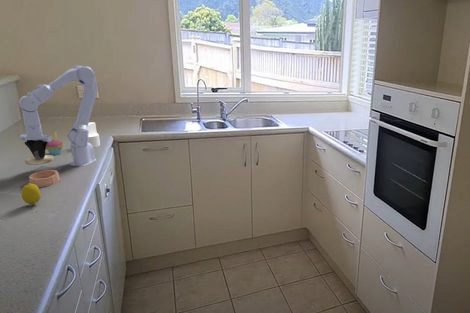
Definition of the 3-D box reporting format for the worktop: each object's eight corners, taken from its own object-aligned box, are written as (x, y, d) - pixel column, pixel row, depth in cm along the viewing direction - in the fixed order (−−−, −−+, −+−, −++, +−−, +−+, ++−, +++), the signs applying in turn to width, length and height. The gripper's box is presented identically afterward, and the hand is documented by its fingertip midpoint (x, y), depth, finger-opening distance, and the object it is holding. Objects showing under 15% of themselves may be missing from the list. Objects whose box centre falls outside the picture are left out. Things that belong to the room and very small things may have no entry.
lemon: (45, 201, 118) (41, 180, 115) (37, 208, 113) (32, 186, 110) (29, 201, 118) (24, 180, 115) (20, 208, 112) (15, 186, 110)
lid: (39, 155, 149) (38, 147, 148) (60, 157, 146) (59, 148, 145) (18, 163, 139) (16, 154, 137) (40, 165, 136) (38, 156, 135)
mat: (42, 166, 151) (41, 165, 151) (63, 169, 148) (63, 168, 148) (20, 176, 140) (20, 175, 140) (43, 178, 137) (42, 177, 137)
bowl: (44, 177, 139) (43, 169, 138) (65, 179, 137) (63, 171, 136) (24, 186, 130) (22, 178, 129) (46, 189, 128) (44, 180, 126)
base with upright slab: (93, 148, 177) (90, 126, 173) (78, 147, 179) (75, 125, 175) (103, 143, 186) (100, 122, 182) (88, 143, 187) (85, 122, 183)
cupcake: (61, 150, 174) (57, 128, 170) (67, 154, 169) (63, 130, 165) (43, 154, 169) (38, 131, 165) (49, 157, 163) (44, 134, 159)
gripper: (10, 127, 136) (17, 158, 140) (39, 128, 132) (46, 161, 136) (24, 123, 142) (31, 153, 146) (53, 124, 138) (59, 155, 143)
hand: (39, 156), depth 142 cm, fingers closed on lid, 2 cm apart
